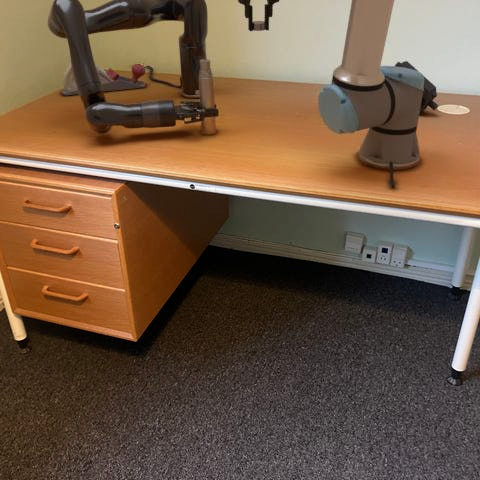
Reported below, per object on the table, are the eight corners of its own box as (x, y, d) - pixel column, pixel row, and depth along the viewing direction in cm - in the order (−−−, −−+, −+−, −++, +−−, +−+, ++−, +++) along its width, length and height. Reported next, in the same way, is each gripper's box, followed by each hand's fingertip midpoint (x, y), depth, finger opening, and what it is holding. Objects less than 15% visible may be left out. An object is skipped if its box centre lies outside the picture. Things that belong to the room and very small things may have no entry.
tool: (376, 92, 179) (403, 55, 168) (419, 129, 175) (449, 94, 164) (367, 96, 175) (394, 59, 164) (411, 135, 171) (441, 99, 160)
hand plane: (62, 90, 197) (53, 48, 189) (145, 82, 205) (140, 41, 197) (62, 96, 191) (54, 53, 184) (148, 87, 199) (143, 45, 191)
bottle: (210, 128, 161) (206, 57, 150) (218, 132, 158) (215, 60, 147) (198, 131, 159) (194, 60, 148) (207, 135, 156) (203, 62, 145)
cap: (248, 29, 152) (248, 22, 151) (257, 27, 155) (257, 20, 154) (259, 31, 150) (259, 24, 149) (268, 29, 152) (268, 21, 151)
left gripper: (157, 109, 145) (220, 104, 147) (155, 94, 157) (213, 90, 159) (160, 135, 149) (221, 130, 151) (158, 118, 161) (214, 114, 163)
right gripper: (287, -66, 144) (284, 26, 156) (224, -64, 142) (227, 28, 154) (293, -65, 138) (290, 30, 150) (228, -63, 136) (231, 33, 148)
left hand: (216, 109), depth 155 cm, fingers closed on bottle, 4 cm apart
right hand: (258, 29), depth 152 cm, fingers closed on cap, 4 cm apart
